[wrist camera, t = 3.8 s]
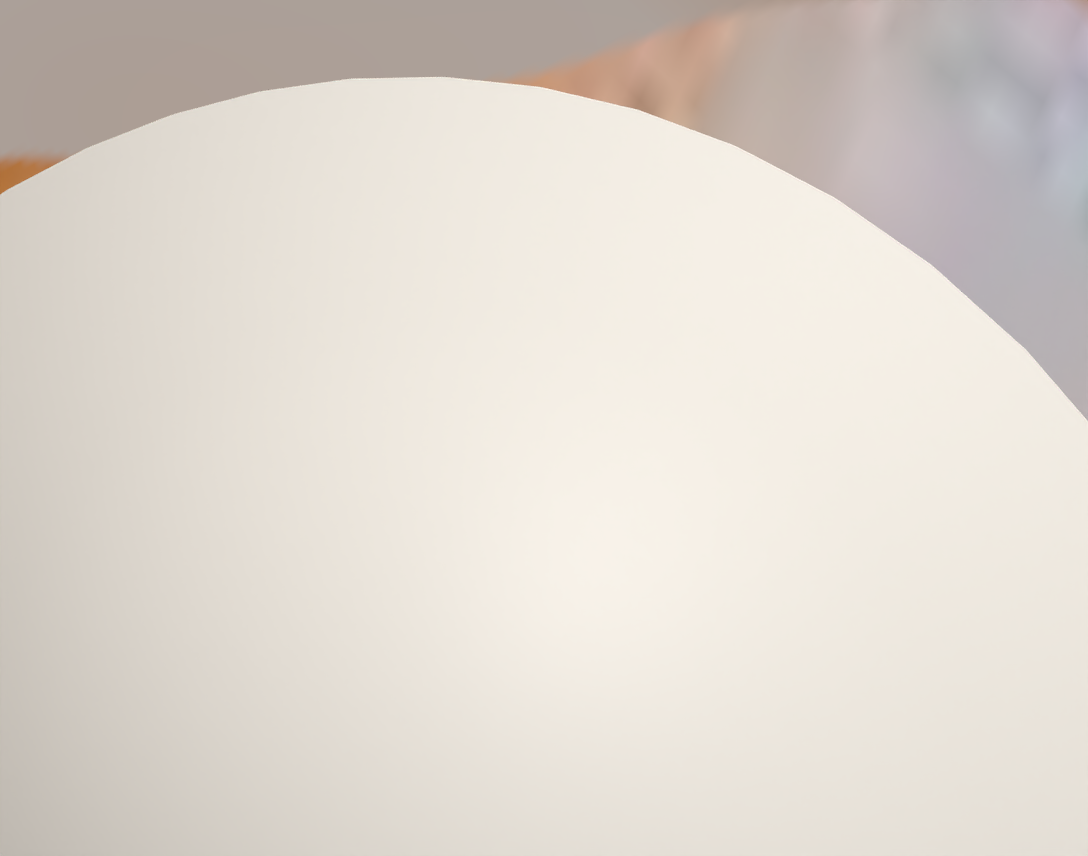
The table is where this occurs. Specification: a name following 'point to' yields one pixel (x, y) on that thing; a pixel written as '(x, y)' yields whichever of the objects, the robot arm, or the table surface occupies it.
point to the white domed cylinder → (516, 501)
